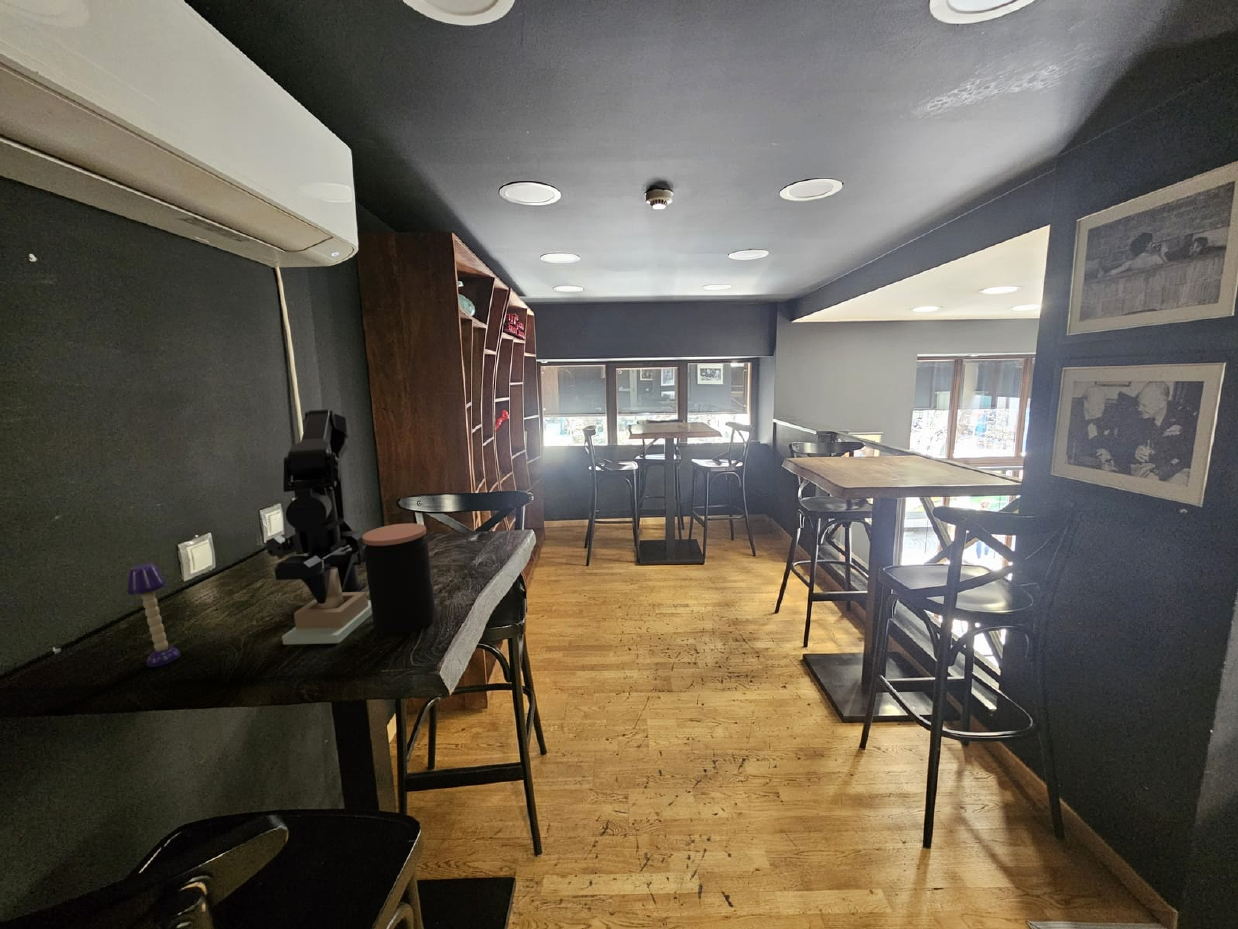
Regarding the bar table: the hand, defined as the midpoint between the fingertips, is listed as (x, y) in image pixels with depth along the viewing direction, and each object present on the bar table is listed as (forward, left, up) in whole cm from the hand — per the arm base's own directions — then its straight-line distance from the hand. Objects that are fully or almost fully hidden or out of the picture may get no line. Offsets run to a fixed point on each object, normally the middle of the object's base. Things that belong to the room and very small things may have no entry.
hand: (331, 597), depth 92 cm
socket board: (0, 0, -6) cm, 6 cm away
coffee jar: (+1, +14, -6) cm, 15 cm away
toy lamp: (+11, -23, -6) cm, 26 cm away
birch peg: (0, 0, -4) cm, 4 cm away
